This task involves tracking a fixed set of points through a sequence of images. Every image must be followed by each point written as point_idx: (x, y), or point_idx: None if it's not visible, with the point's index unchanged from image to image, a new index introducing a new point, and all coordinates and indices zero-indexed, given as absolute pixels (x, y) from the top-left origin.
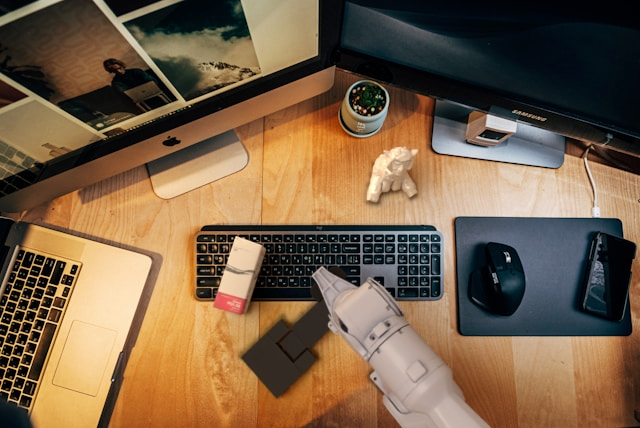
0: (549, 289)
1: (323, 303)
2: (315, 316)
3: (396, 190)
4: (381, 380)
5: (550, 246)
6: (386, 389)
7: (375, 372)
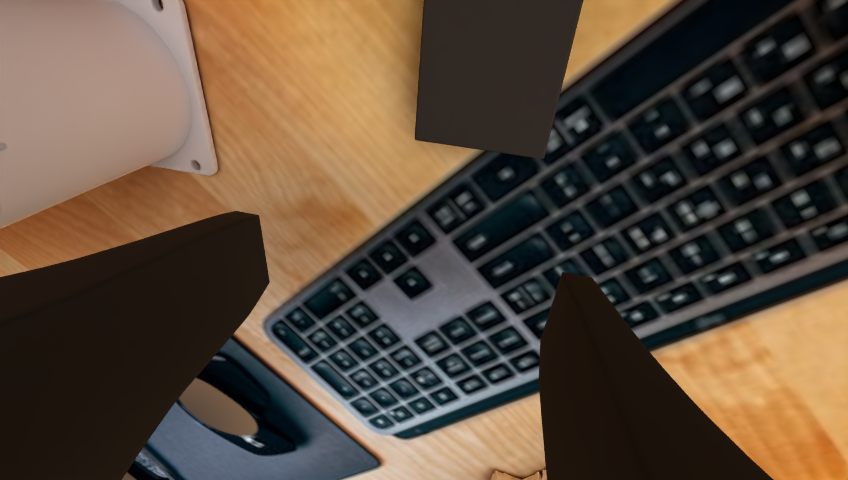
0: (161, 423)
1: (529, 124)
2: (525, 38)
3: (536, 475)
4: (139, 19)
5: (224, 473)
6: (22, 11)
7: (177, 27)
